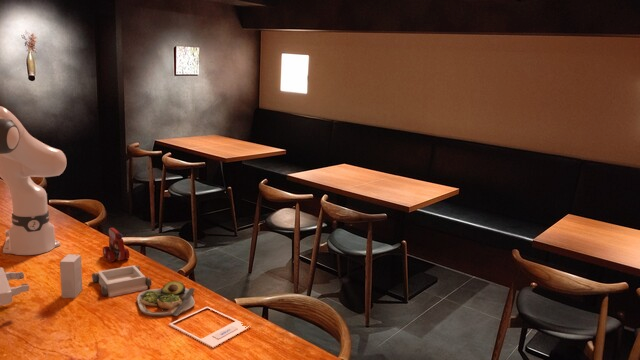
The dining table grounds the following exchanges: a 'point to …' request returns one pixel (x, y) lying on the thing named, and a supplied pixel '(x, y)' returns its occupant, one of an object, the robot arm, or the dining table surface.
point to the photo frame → (220, 334)
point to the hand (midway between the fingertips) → (26, 280)
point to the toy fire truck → (115, 247)
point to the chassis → (121, 280)
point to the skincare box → (71, 276)
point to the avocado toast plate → (167, 299)
